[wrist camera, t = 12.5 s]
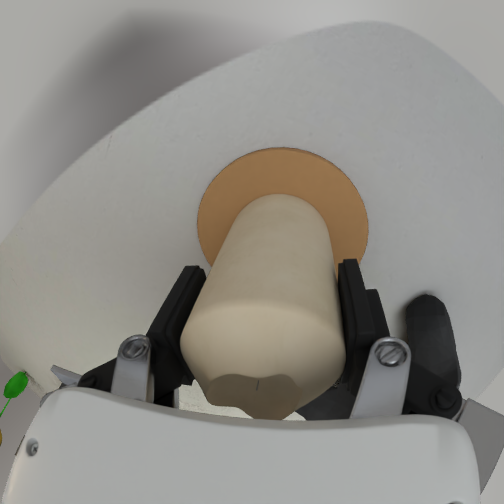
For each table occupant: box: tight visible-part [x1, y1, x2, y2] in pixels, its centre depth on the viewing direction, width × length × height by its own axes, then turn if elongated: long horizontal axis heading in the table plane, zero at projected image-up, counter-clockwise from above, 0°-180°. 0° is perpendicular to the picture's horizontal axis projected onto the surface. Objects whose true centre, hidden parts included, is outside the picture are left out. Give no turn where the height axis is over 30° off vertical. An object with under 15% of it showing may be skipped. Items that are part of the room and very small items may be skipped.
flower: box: [0, 371, 28, 445], centre depth 37 cm, size 9×8×30 cm
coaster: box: [197, 147, 368, 283], centre depth 16 cm, size 10×10×1 cm
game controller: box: [295, 294, 461, 421], centre depth 19 cm, size 16×7×10 cm, turn 139°
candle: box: [180, 194, 346, 420], centre depth 11 cm, size 6×6×10 cm
